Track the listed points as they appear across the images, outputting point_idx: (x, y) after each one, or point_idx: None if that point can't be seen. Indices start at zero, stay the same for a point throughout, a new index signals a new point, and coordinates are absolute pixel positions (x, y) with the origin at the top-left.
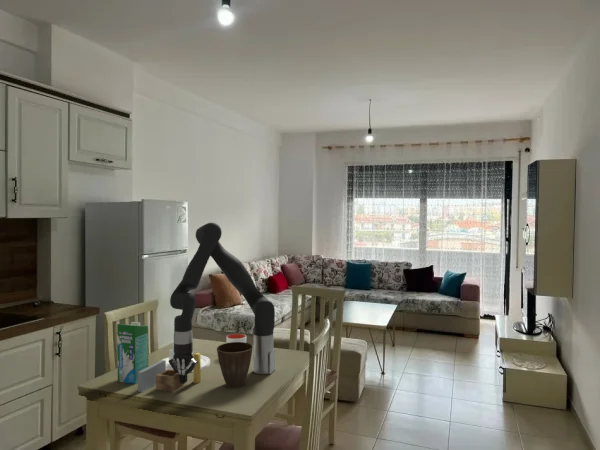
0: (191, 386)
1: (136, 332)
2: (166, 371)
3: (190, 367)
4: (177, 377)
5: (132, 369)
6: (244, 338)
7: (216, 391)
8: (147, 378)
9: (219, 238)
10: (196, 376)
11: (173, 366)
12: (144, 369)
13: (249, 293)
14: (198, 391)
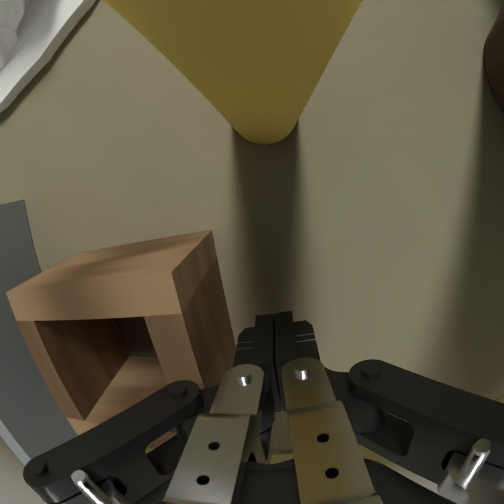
0: (294, 225)
1: None
2: (46, 346)
3: (431, 468)
4: (214, 377)
5: None
6: None
7: (501, 227)
8: (50, 412)
9: None
10: (283, 131)
11: (153, 484)
12: (10, 444)
13: None
14: (407, 283)
